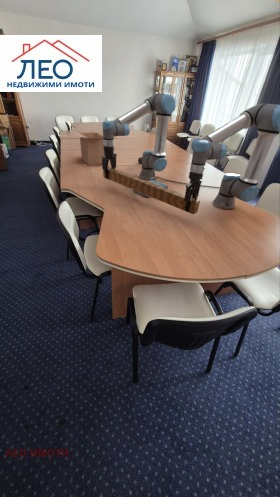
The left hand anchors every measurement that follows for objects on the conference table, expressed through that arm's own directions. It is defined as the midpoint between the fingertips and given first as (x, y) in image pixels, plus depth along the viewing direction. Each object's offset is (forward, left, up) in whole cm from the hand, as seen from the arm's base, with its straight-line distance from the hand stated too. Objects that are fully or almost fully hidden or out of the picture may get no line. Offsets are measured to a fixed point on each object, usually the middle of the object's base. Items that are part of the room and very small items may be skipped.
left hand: (109, 177), depth 173 cm
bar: (-24, +27, -1) cm, 36 cm away
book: (-33, +4, -9) cm, 34 cm away
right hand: (-49, +54, 0) cm, 73 cm away
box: (+18, -76, -9) cm, 79 cm away
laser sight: (-41, -72, -9) cm, 83 cm away
